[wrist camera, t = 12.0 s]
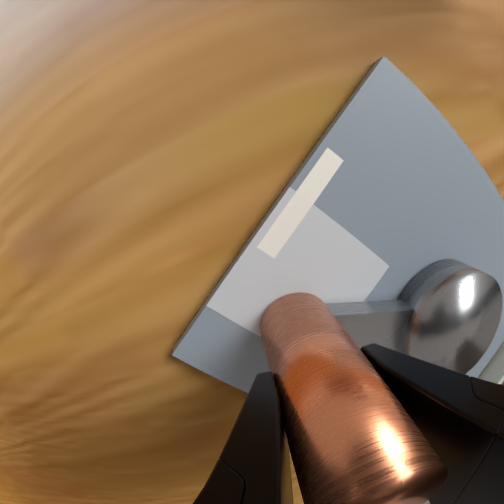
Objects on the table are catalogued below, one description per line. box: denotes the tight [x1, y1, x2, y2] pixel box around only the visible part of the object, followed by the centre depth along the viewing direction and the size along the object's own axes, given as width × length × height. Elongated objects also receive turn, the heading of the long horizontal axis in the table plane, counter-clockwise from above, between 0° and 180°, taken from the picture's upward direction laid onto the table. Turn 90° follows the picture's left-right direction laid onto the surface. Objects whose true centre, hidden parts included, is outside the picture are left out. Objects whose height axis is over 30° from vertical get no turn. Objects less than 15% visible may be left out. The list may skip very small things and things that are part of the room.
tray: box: [477, 341, 504, 384], centre depth 14 cm, size 8×8×2 cm
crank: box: [260, 259, 502, 504], centre depth 7 cm, size 10×5×8 cm, turn 88°
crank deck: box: [172, 56, 504, 393], centre depth 12 cm, size 16×14×1 cm
